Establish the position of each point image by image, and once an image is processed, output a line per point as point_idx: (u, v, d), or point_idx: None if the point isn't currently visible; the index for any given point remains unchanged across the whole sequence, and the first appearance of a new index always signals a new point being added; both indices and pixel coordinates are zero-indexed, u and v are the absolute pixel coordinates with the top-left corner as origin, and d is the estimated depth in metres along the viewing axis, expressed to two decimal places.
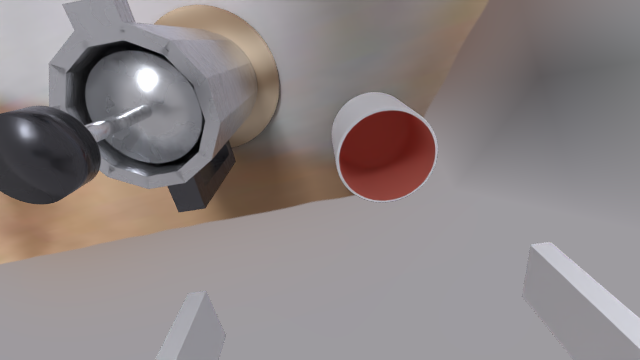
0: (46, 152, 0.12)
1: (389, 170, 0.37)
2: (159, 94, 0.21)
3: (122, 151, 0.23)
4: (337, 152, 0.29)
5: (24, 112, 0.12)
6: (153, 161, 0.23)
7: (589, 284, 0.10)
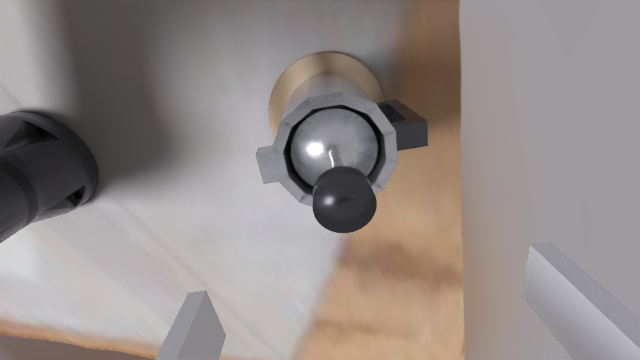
0: (338, 190, 0.18)
1: None
2: (321, 138, 0.27)
3: (365, 176, 0.29)
4: None
5: (313, 196, 0.19)
6: (375, 154, 0.28)
7: (589, 284, 0.10)
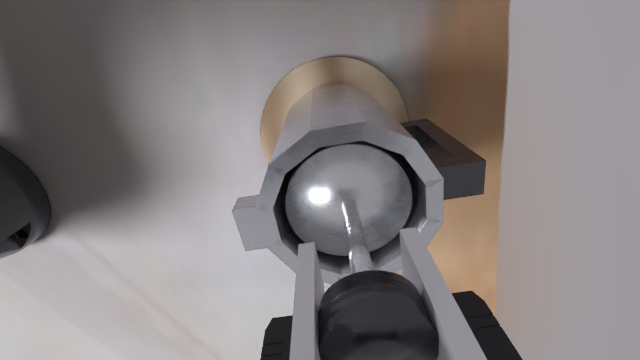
0: (368, 330, 0.09)
1: None
2: (330, 186, 0.18)
3: (392, 236, 0.20)
4: None
5: (320, 331, 0.10)
6: (408, 208, 0.19)
7: (425, 259, 0.12)
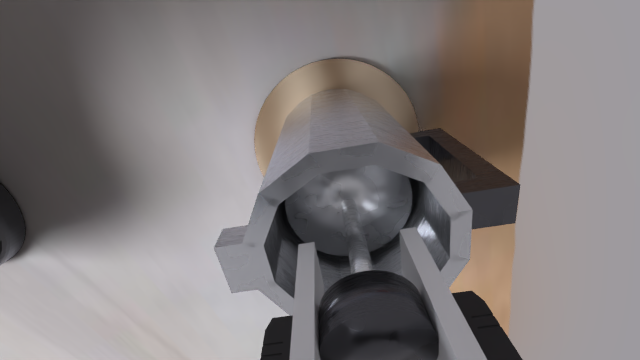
0: (368, 330, 0.09)
1: None
2: (330, 186, 0.18)
3: (392, 236, 0.20)
4: None
5: (320, 331, 0.10)
6: (408, 208, 0.19)
7: (425, 259, 0.12)
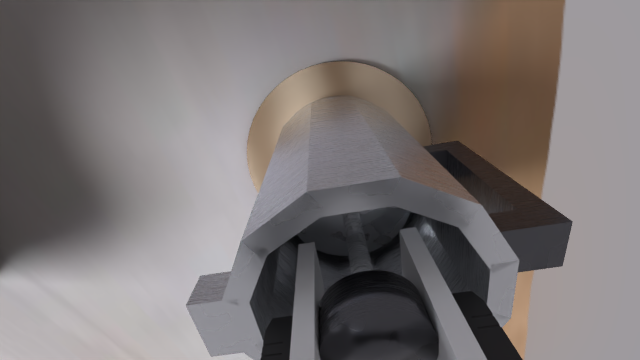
0: (368, 330, 0.09)
1: None
2: None
3: (392, 236, 0.20)
4: None
5: (320, 331, 0.10)
6: None
7: (425, 259, 0.12)
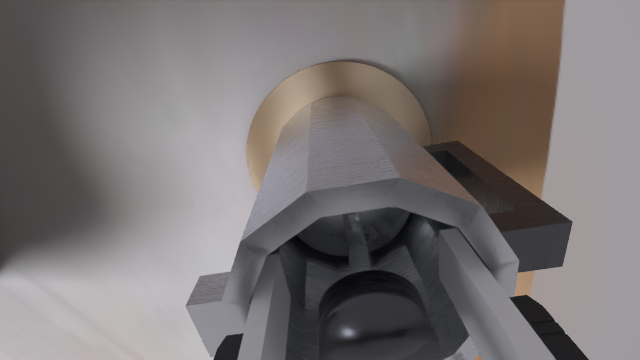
0: (368, 330, 0.09)
1: None
2: None
3: (392, 236, 0.20)
4: None
5: (319, 331, 0.10)
6: None
7: (473, 261, 0.11)
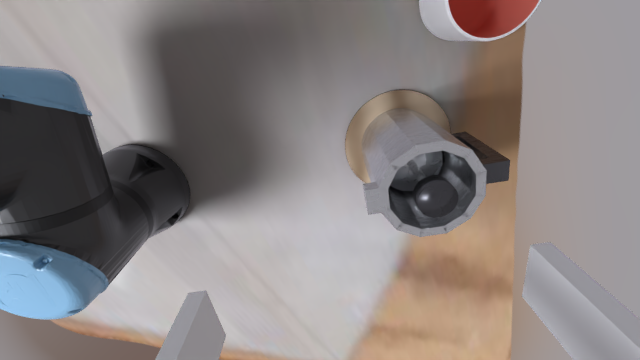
0: (435, 190, 0.29)
1: None
2: None
3: None
4: (479, 39, 0.31)
5: (416, 194, 0.30)
6: (440, 164, 0.39)
7: (589, 284, 0.10)
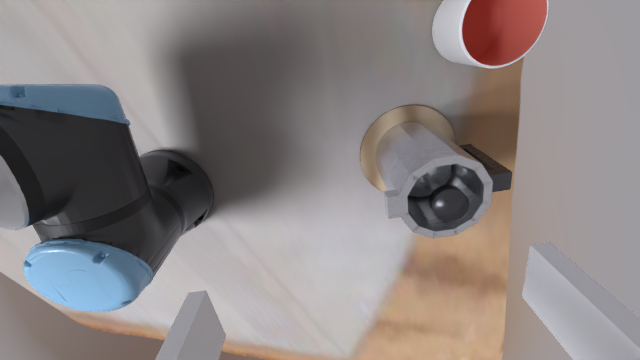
0: (449, 198, 0.34)
1: (510, 5, 0.39)
2: None
3: None
4: (487, 67, 0.36)
5: (433, 201, 0.35)
6: (449, 173, 0.43)
7: (589, 284, 0.10)
